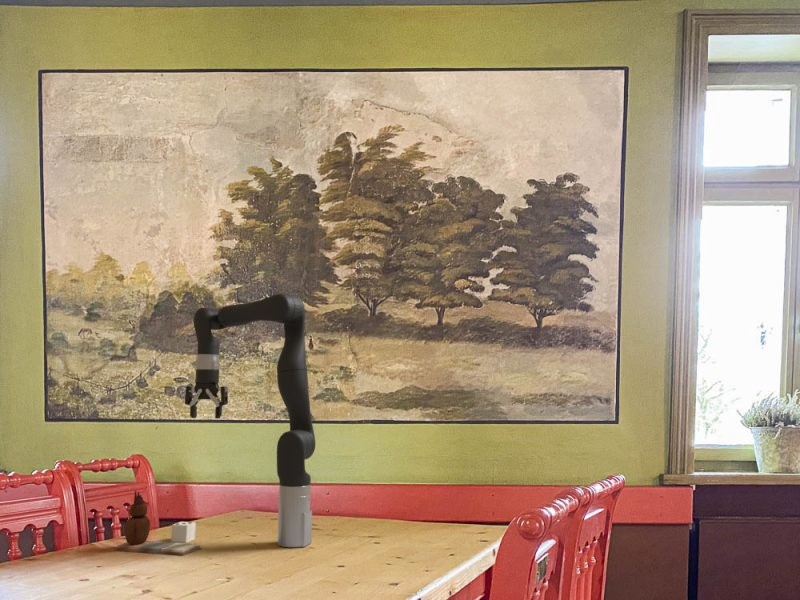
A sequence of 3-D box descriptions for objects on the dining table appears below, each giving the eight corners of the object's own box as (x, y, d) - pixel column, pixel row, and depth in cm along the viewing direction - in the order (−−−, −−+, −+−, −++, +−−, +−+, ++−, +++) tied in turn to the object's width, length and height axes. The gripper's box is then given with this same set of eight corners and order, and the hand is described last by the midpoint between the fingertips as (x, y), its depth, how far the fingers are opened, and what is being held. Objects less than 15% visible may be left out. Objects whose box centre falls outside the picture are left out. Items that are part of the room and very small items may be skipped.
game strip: (200, 548, 196) (200, 543, 197) (183, 555, 188) (183, 551, 188) (133, 543, 202) (133, 539, 202) (113, 550, 193) (113, 546, 193)
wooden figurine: (132, 547, 192) (134, 492, 194) (120, 544, 195) (123, 490, 197) (152, 542, 197) (155, 489, 199) (141, 539, 201) (143, 487, 203)
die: (194, 539, 208) (195, 522, 208) (186, 543, 203) (186, 525, 204) (180, 538, 209) (180, 521, 210) (171, 542, 204) (171, 524, 205)
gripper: (232, 368, 227) (230, 418, 225) (193, 368, 230) (191, 417, 228) (222, 368, 220) (220, 419, 218) (182, 368, 223) (179, 418, 221)
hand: (205, 418), depth 223 cm, fingers open, 8 cm apart
